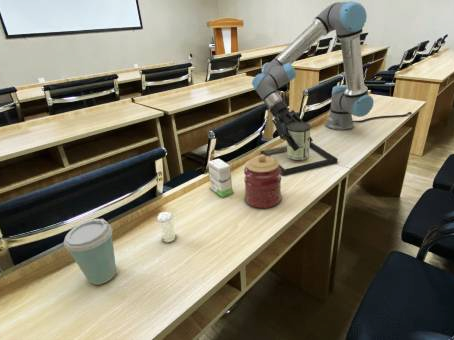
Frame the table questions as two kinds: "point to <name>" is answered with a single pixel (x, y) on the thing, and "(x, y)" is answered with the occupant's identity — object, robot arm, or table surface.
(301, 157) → the coffee can
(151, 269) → the table surface
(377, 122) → the table surface
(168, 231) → the salt shaker
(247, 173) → the kitchen canister
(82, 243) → the disposable coffee cup
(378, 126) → the table surface
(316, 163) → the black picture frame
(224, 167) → the ink box
